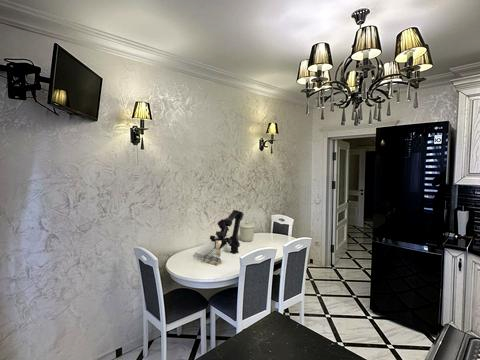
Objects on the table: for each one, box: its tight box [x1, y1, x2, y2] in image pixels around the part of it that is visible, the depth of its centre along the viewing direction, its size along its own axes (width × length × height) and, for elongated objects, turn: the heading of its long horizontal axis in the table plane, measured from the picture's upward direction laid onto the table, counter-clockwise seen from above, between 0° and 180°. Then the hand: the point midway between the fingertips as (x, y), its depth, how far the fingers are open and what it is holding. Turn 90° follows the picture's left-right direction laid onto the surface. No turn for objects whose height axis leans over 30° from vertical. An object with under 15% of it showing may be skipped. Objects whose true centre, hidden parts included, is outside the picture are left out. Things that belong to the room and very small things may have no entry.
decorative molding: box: [193, 241, 215, 259], centre depth 250 cm, size 34×5×10 cm
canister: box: [239, 221, 256, 243], centre depth 287 cm, size 18×18×21 cm
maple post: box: [215, 240, 222, 258], centre depth 216 cm, size 4×4×13 cm
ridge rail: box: [202, 254, 223, 267], centre depth 221 cm, size 16×6×5 cm, turn 55°
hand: (217, 248), depth 215 cm, fingers closed on maple post, 4 cm apart
